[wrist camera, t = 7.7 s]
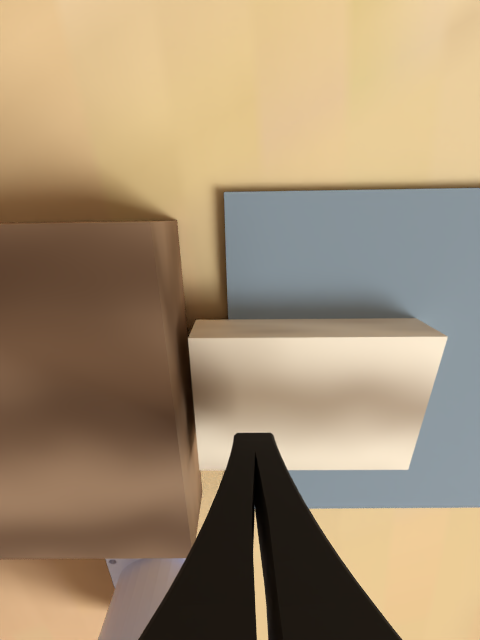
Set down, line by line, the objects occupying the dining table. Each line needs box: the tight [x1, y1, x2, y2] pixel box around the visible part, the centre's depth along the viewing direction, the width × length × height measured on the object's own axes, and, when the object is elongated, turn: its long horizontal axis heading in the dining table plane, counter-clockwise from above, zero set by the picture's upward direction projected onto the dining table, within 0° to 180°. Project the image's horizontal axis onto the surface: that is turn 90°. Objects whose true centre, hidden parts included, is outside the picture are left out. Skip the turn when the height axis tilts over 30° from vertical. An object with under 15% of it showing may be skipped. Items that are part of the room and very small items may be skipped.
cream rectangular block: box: [188, 318, 448, 470], centre depth 13 cm, size 7×10×2 cm
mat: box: [224, 188, 480, 508], centre depth 14 cm, size 18×16×1 cm
